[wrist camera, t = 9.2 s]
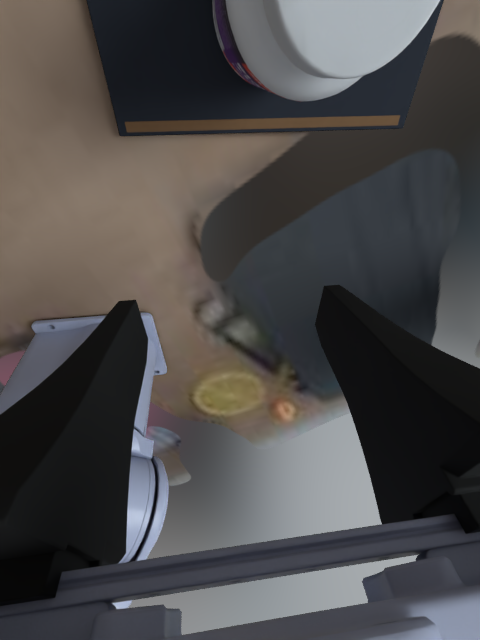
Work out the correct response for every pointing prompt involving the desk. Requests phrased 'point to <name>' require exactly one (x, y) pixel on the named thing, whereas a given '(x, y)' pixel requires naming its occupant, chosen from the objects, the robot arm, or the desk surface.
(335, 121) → the felt pad
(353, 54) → the pill bottle
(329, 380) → the desk surface
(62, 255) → the desk surface
